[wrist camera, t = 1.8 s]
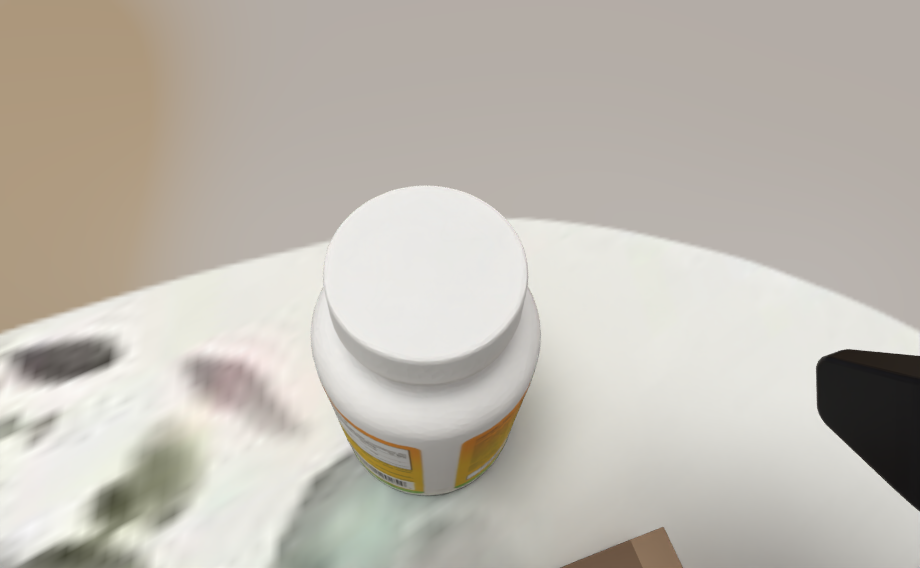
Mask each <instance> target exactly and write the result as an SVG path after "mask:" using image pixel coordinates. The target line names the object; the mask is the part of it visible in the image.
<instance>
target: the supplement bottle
mask: <svg viewBox="0 0 920 568" xmlns="http://www.w3.org/2000/svg"><path fill="white" fill-rule="evenodd" d="M540 338H541V330H540V320H539V315H538V310H537V307H536V304H535V301H534V298H533V296H532V293H531V291H530V289H529V288H528V266H527V259H526V255H525V252H524V248H523V246H522V244H521V241H520V239H519V237H518V235H517V233H516V232H515V230H514V229H513V227H512V226H511V225H510V223H509V222H508V221H507V220H506V219H505V218H504V217H503V216H502V215H501V214H500V213H499V212H498V211H497V210H496V209H494V208H493V207H491V206H490V205H489V204H487V203H486V202H484V201H482V200H481V199H479V198H477V197H475V196H473V195H470V194H468V193H465V192H463V191H460V190H456V189H451V188H446V187H439V186H412V187H406V188H400V189H396V190H392V191H389V192H387V193H384V194H382V195H379V196H377V197H375V198H373V199H371V200H369V201H367V202H366V203H364V204H363V205H362V206H360V207H359V208H358V209H356V210H355V211H354V212H353V213H351V214H350V215H349V216H348V217H347V219H346V220H345V221H344V222H343V223H342V224H341V226H340V227H339V228H338V230H337V231H336V233H335V234H334V236H333V238H332V240H331V242H330V244H329V246H328V249H327V253H326V257H325V261H324V267H323V288H322V290H321V292H320V295H319V297H318V299H317V302H316V305H315V308H314V313H313V317H312V325H311V348H312V354H313V359H314V362H315V366H316V369H317V372H318V376H319V378H320V381H321V383H322V386H323V388H324V390H325V392H326V394H327V396H328V398H329V400H330V402H331V404H332V407H333V409H334V411H335V413H336V416H337V418H338V420H339V422H340V424H341V427H342V429H343V431H344V433H345V435H346V437H347V440H348V442H349V444H350V446H351V447H352V449H353V451H354V453H355V455H356V456H357V457H358V459H359V460H360V462H361V463H362V464H363V466H364V467H365V468H366V469H367V470H368V471H369V472H370V473H371V474H372V475H373V476H374V477H376V478H377V479H378V480H380V481H381V482H383V483H384V484H386V485H388V486H390V487H392V488H394V489H396V490H399V491H402V492H406V493H410V494H415V495H439V494H444V493H448V492H452V491H455V490H457V489H460V488H462V487H464V486H466V485H468V484H469V483H471V482H473V481H474V480H476V479H477V478H478V477H480V476H481V475H482V474H483V473H484V472H485V471H486V470H487V469H488V468H489V467H490V466H491V465H492V464H493V462H494V461H495V460H496V458H497V457H498V455H499V454H500V452H501V450H502V448H503V446H504V445H505V443H506V440H507V438H508V435H509V433H510V430H511V427H512V425H513V422H514V420H515V418H516V415H517V413H518V411H519V408H520V406H521V404H522V401H523V399H524V397H525V394H526V392H527V390H528V388H529V385H530V383H531V380H532V377H533V374H534V372H535V368H536V364H537V361H538V356H539V351H540Z"/></svg>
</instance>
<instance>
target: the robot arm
mask: <svg viewBox="0 0 920 568" xmlns="http://www.w3.org/2000/svg"><path fill="white" fill-rule="evenodd" d="M816 387H817V409H818V412H819V415H820V417H821V418H822V420H823V421H824V423H825V424H826V425H827V426H828V427H829V428H830V429H831V430H832V431H833V432H834V433H836V434H837V435H838V436H839V437H840V438H841V439H842V440H843V441H844V442H845V443H846V444H847V445H848V446H849V447H850V448H851V449H852V450H853V451H855V452H856V453H857V454H858V455H859V456H860V457H861V458H862V459H863V460H864V461H865V462H866V463H867V464H868V465H869V466H870V467H871V468H872V469H874V470H875V471H876V472H877V473H878V474H879V475H880V476H881V477H882V478H883V479H884V480H885V481H886V482H887V483H888V484H889V485H890V486H891V487H893V488H894V489H895V490H896V491H897V492H898V493H899V494H900V495H901V496H902V497H903V498H905V499H906V500H907V501H908V502H909V503H910V504H911V505H913V506H914V507H915V508H916V509H917V510H919V511H920V356H914V355H903V354H893V353H882V352H872V351H861V350H851V349H846V350H841V351H838V352H835V353H832V354H829V355H827V356H824V357H822V358H821V359H820V360H819V361H818V363H817V366H816Z"/></svg>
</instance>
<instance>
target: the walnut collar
mask: <svg viewBox="0 0 920 568" xmlns="http://www.w3.org/2000/svg"><path fill="white" fill-rule="evenodd" d="M561 568H683V567H682V565H681V563H680V561H679V559H678V557H677V554H676V552H675V550H674V548H673V546H672V544H671V542H670V540H669V538H668V535H667V533H666V531H665V529H664V527H662V528H659V529H656V530H654V531H651V532H649V533H646V534H644V535H641V536H639V537H636V538H634V539H631V540H629V541H626V542H624V543H621V544H619V545H616V546H613V547H611V548H608V549H606V550H603V551H601V552H598V553H596V554H593V555H591V556H588V557H586V558H583V559H581V560H578V561H576V562H573V563H571V564H568V565H566V566H563V567H561Z"/></svg>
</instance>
